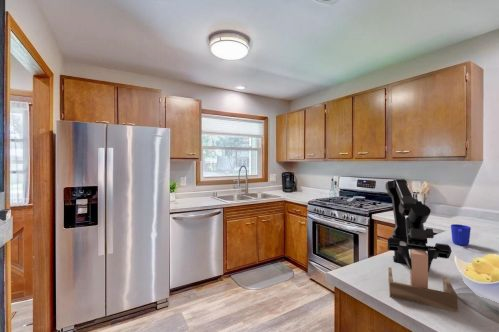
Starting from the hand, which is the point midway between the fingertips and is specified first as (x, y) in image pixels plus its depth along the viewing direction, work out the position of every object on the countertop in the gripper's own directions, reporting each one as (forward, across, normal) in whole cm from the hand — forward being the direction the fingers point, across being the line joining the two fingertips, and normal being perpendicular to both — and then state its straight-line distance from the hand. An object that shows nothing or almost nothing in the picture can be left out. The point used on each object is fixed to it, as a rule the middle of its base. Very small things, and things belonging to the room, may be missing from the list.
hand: (419, 270), depth 82 cm
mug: (-42, +27, +55) cm, 75 cm away
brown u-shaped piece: (+5, 0, +7) cm, 9 cm away
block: (+4, 0, +6) cm, 7 cm away
